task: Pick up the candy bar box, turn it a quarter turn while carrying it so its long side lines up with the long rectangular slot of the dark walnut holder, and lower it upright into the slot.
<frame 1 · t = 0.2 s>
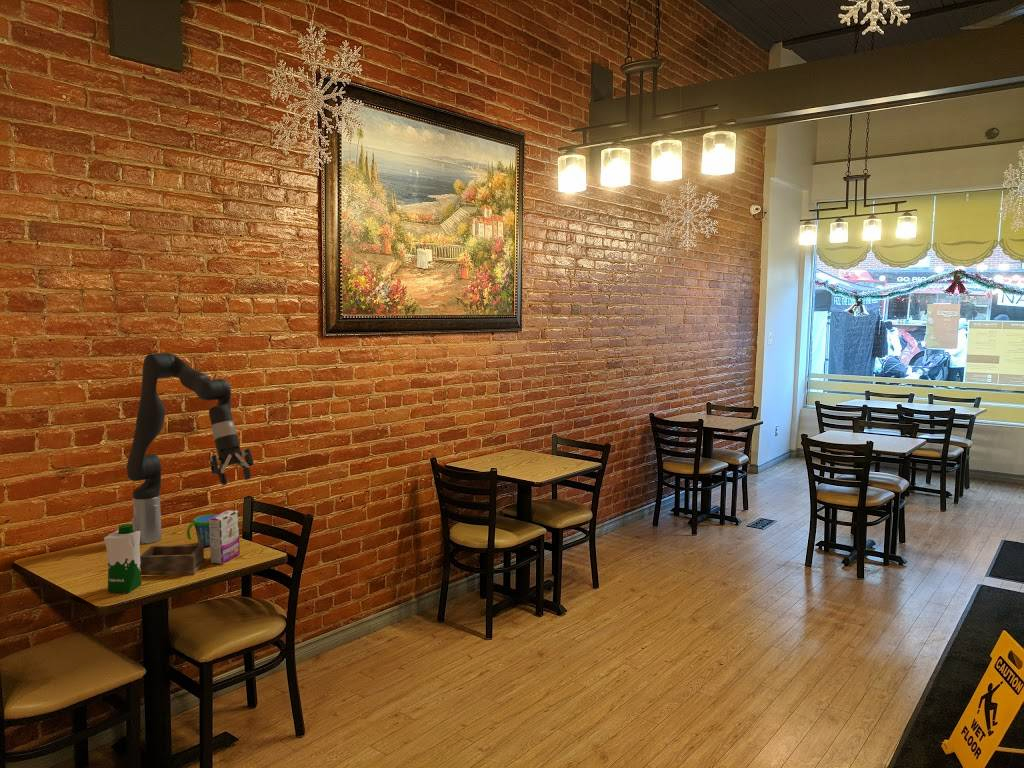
hand: (236, 482, 247), 31 cm above the table, tool tilted 20°, fingers open, 8 cm apart
snack cup: (209, 544, 277), on the table
slot holder: (172, 569, 250), on the table
candy bar box: (225, 559, 261), on the table
milk carton: (124, 589, 232), on the table
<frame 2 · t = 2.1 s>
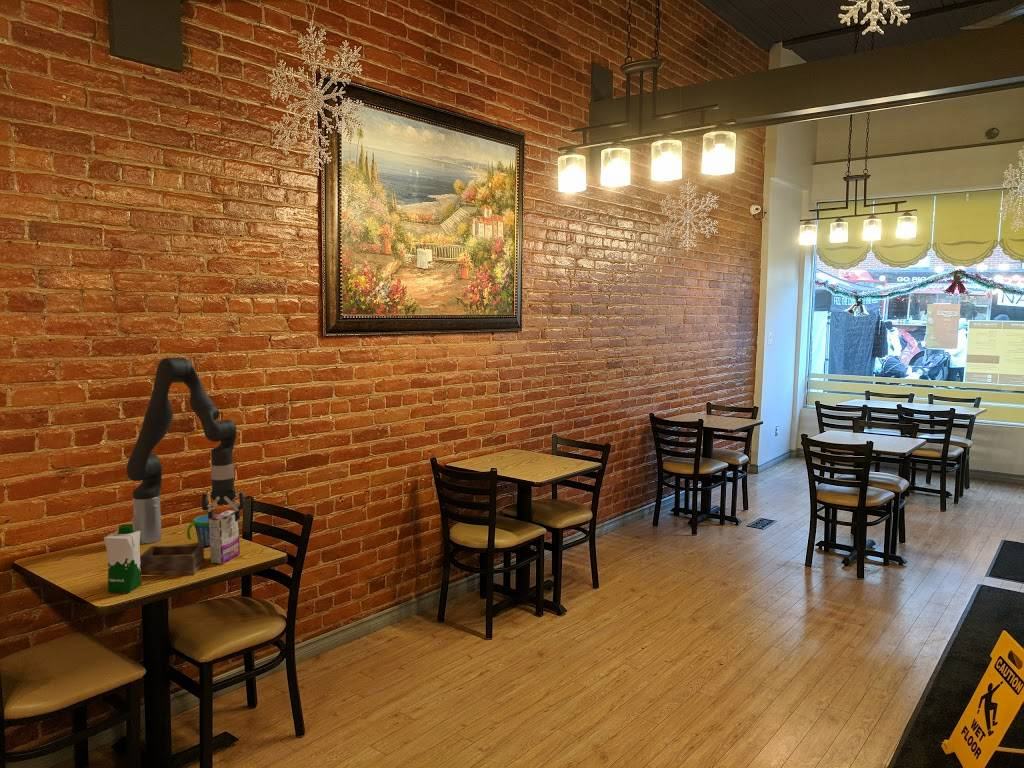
hand: (224, 521, 259), 14 cm above the table, tool pointing down, fingers open, 8 cm apart
nothing on the table moved.
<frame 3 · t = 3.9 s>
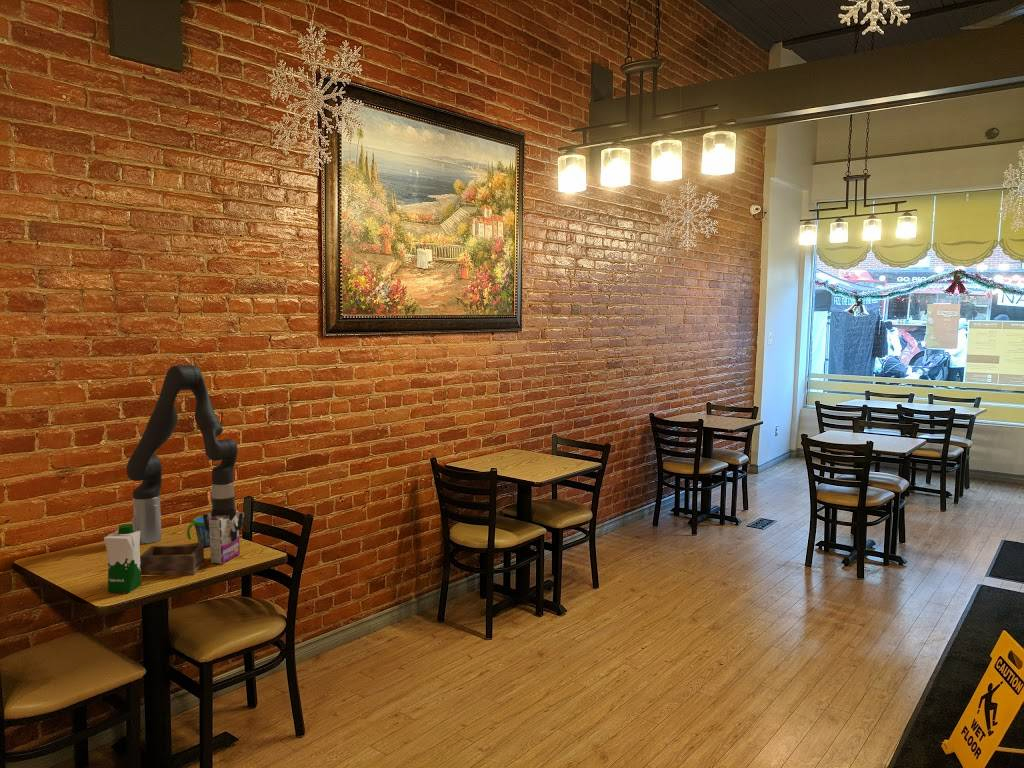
hand: (224, 541, 260), 7 cm above the table, tool pointing down, fingers closed on candy bar box, 6 cm apart
candy bar box: (225, 559, 261), on the table, touching gripper
everything else where it was.
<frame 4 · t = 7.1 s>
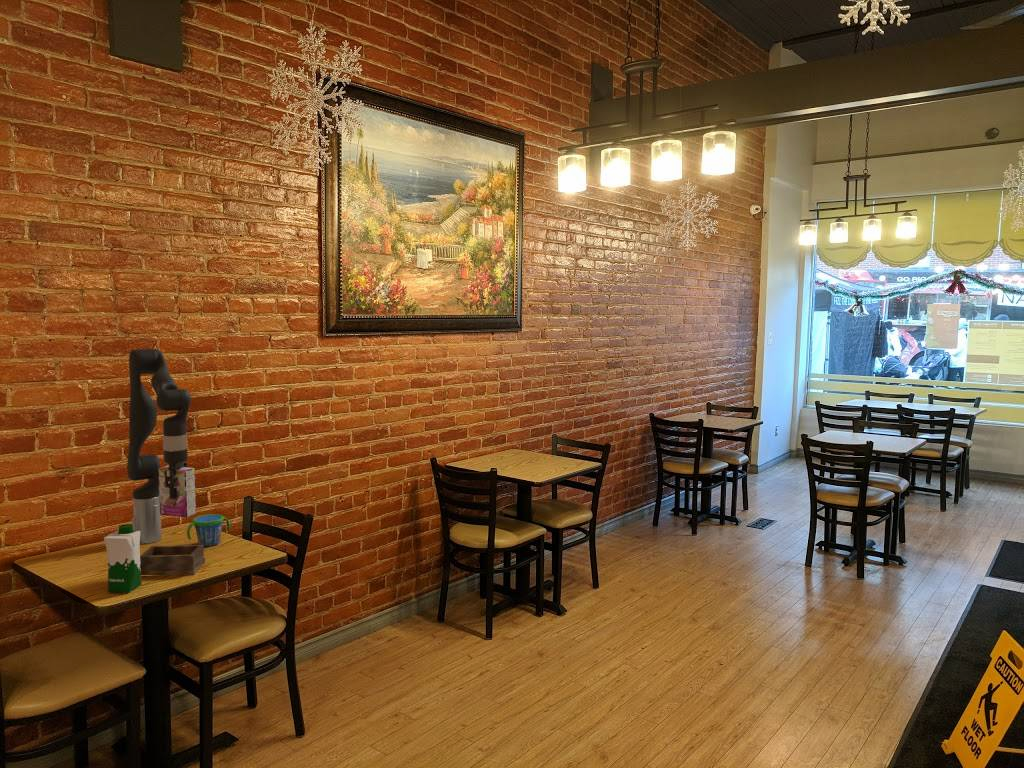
hand: (177, 496, 249), 25 cm above the table, tool pointing down, fingers closed on candy bar box, 6 cm apart
candy bar box: (178, 515, 250), point 19 cm above the table, touching gripper
everything else where it was.
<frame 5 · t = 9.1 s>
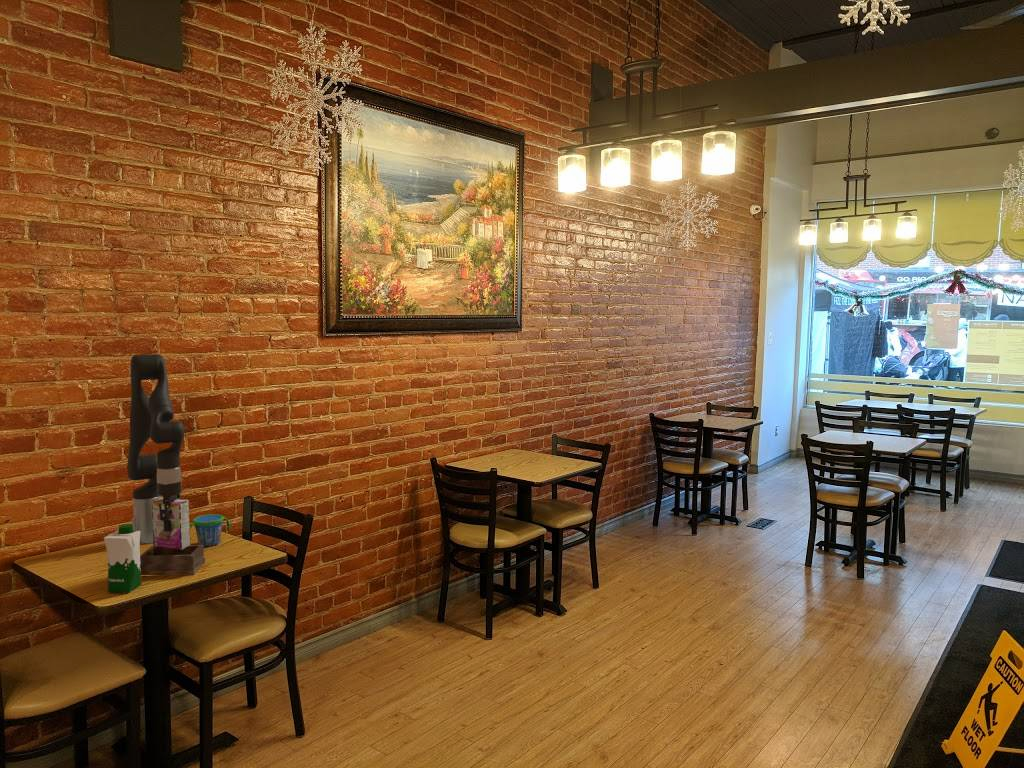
hand: (171, 528, 249), 14 cm above the table, tool pointing down, fingers closed on candy bar box, 6 cm apart
candy bar box: (171, 547, 249), point 8 cm above the table, touching gripper
everything else where it was.
when the fingers open (9 cm above the table, at t = 10.7 s): candy bar box drops 1 cm, resting on slot holder.
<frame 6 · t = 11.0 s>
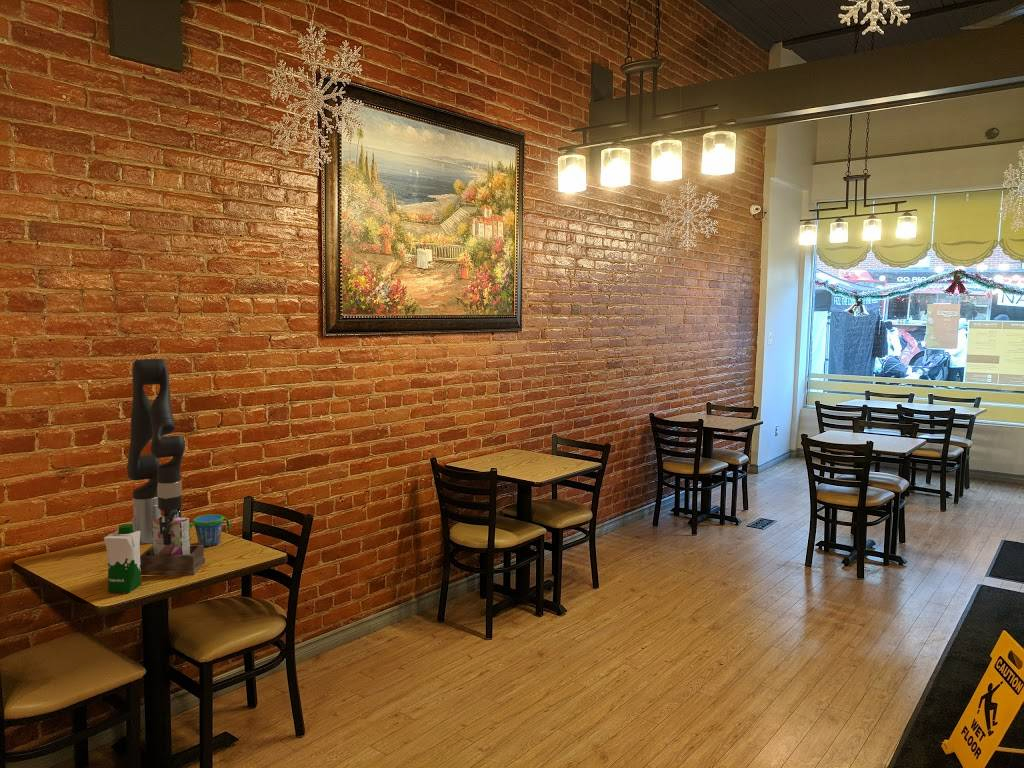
hand: (171, 540, 249), 10 cm above the table, tool pointing down, fingers open, 8 cm apart
candy bar box: (172, 565, 250), point 1 cm above the table, touching slot holder
everything else where it was.
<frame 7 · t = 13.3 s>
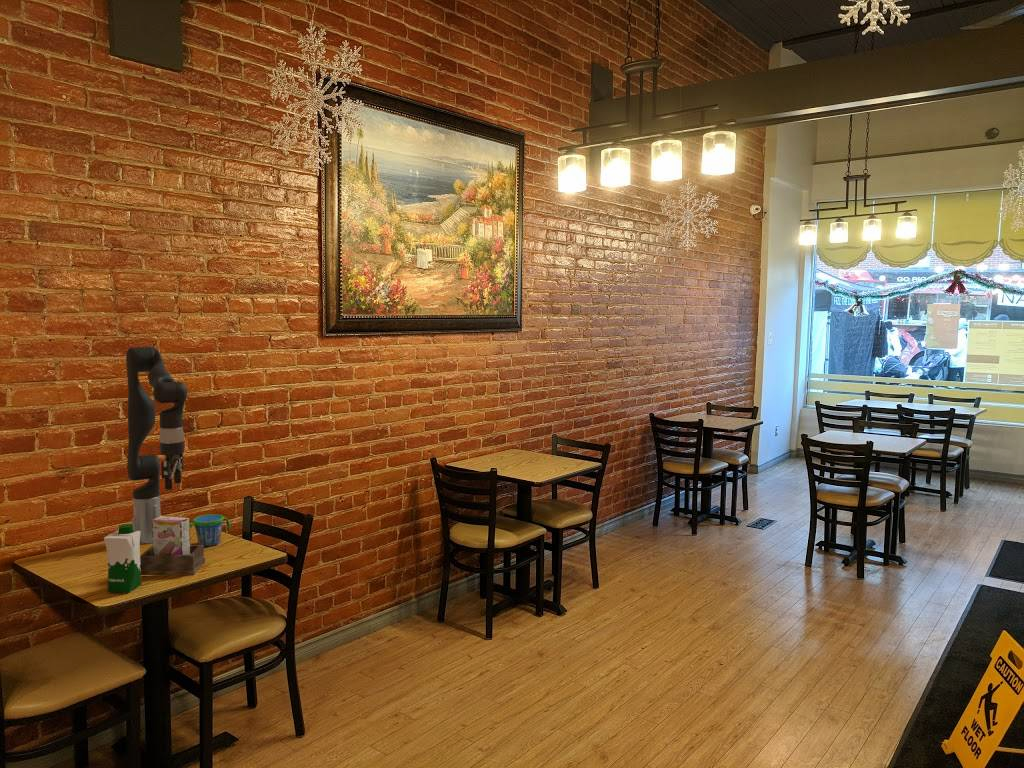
hand: (173, 486, 251), 28 cm above the table, tool pointing down, fingers open, 8 cm apart
nothing on the table moved.
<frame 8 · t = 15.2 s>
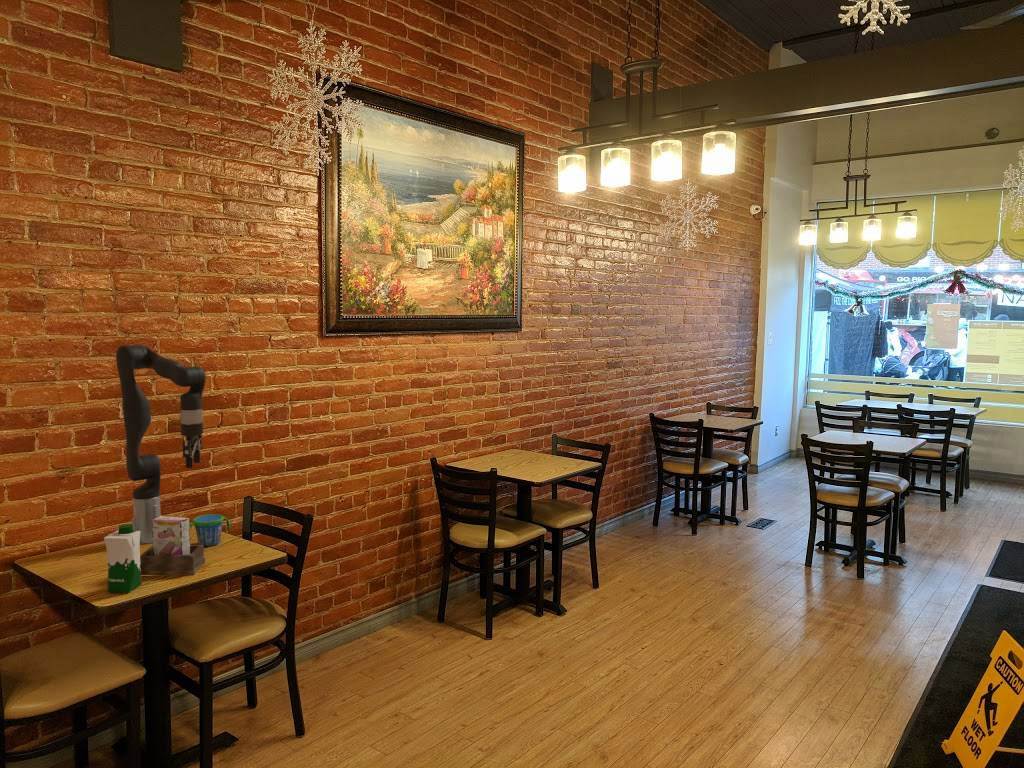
hand: (193, 465, 266), 32 cm above the table, tool pointing down, fingers open, 8 cm apart
nothing on the table moved.
at the end: candy bar box 0.2 cm off-centre on the slot holder, point 1.3 cm above the slot holder's base; candy bar box tilted 0°; the gripper is holding nothing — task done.
